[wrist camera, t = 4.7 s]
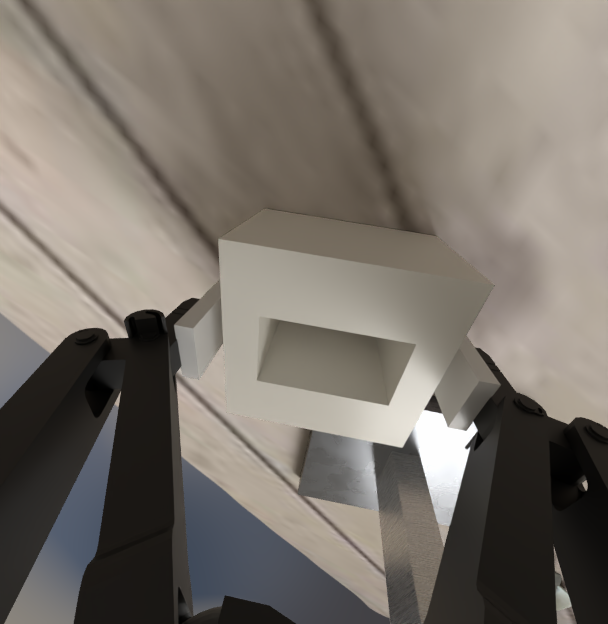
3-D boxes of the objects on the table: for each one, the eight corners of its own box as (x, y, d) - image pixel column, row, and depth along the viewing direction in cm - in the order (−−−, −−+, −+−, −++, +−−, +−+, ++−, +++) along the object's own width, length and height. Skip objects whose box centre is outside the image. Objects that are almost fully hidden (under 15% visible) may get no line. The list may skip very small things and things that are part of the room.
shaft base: (323, 375, 19) (307, 565, 10) (530, 414, 19) (706, 653, 10) (299, 478, 27) (278, 637, 18) (444, 508, 26) (497, 688, 17)
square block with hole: (264, 208, 14) (218, 238, 9) (436, 236, 13) (494, 285, 8) (258, 342, 18) (226, 413, 13) (385, 365, 18) (402, 447, 13)
